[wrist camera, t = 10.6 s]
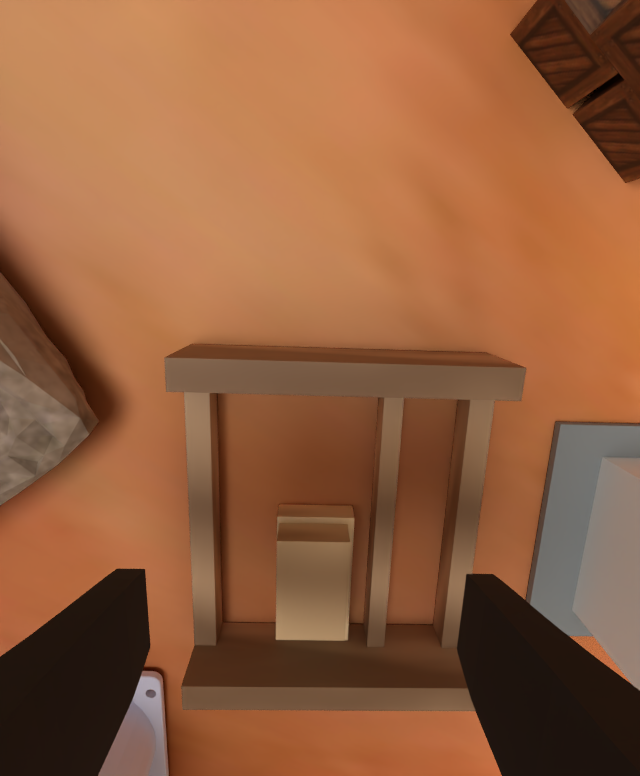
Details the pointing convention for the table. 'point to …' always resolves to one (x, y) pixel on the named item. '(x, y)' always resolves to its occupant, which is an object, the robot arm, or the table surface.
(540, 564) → the mat
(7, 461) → the stone tablet
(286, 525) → the offcut stack
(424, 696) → the rack
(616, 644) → the panel
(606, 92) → the dark brown block piece
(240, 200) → the table surface
